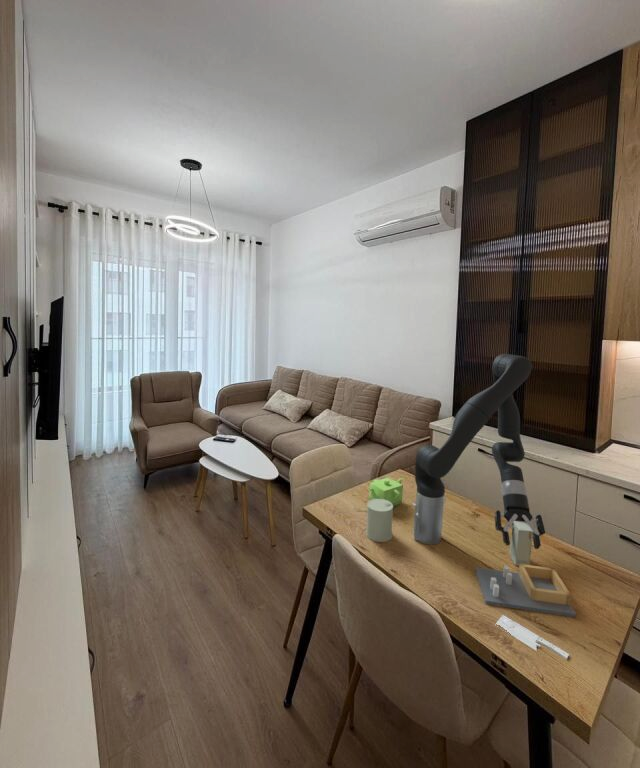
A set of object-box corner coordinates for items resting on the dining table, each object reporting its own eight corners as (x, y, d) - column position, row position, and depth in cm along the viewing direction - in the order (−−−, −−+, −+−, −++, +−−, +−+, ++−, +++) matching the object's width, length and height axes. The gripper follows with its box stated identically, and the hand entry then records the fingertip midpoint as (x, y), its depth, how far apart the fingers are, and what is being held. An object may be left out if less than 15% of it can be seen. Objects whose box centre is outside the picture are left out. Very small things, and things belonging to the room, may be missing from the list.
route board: (485, 603, 100) (487, 590, 100) (475, 570, 114) (476, 558, 113) (575, 617, 96) (577, 603, 95) (553, 580, 110) (554, 568, 109)
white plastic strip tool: (561, 670, 82) (561, 666, 82) (493, 627, 93) (494, 624, 93) (568, 656, 85) (569, 652, 85) (502, 617, 96) (503, 613, 96)
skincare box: (529, 567, 115) (534, 532, 113) (514, 565, 116) (518, 530, 114) (523, 555, 121) (527, 521, 119) (508, 553, 122) (512, 519, 120)
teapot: (402, 497, 160) (403, 474, 158) (405, 513, 147) (406, 489, 145) (367, 495, 162) (368, 472, 160) (366, 510, 149) (367, 486, 147)
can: (395, 540, 128) (397, 509, 126) (370, 543, 127) (371, 511, 125) (386, 526, 137) (388, 496, 135) (362, 528, 136) (363, 498, 134)
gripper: (495, 490, 124) (501, 541, 115) (541, 494, 121) (551, 547, 112) (489, 497, 130) (495, 546, 121) (533, 501, 127) (542, 552, 118)
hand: (522, 546), depth 116 cm, fingers open, 8 cm apart
